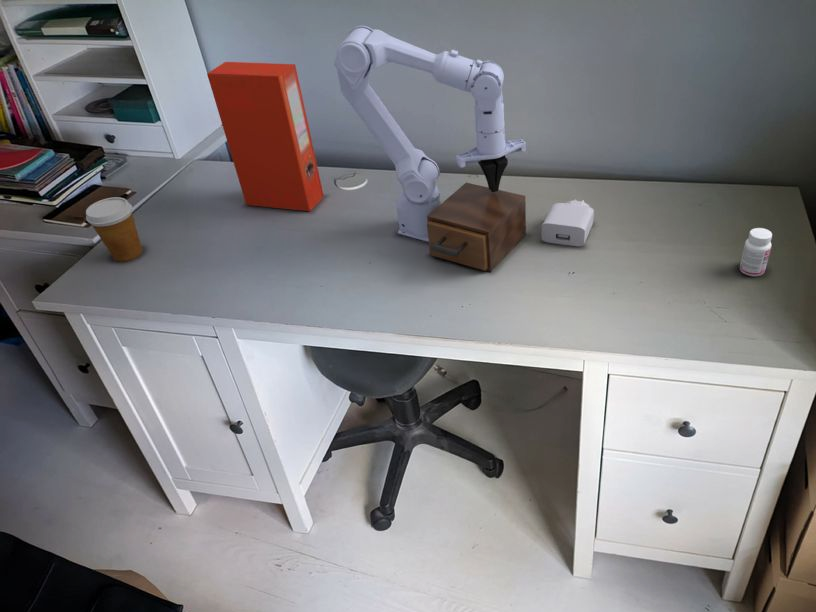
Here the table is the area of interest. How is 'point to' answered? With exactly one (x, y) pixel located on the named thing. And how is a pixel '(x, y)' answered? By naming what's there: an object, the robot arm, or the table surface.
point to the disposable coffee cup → (115, 227)
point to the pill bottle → (756, 252)
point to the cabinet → (486, 217)
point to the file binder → (267, 134)
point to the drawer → (457, 245)
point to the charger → (568, 223)
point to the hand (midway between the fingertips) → (493, 189)
